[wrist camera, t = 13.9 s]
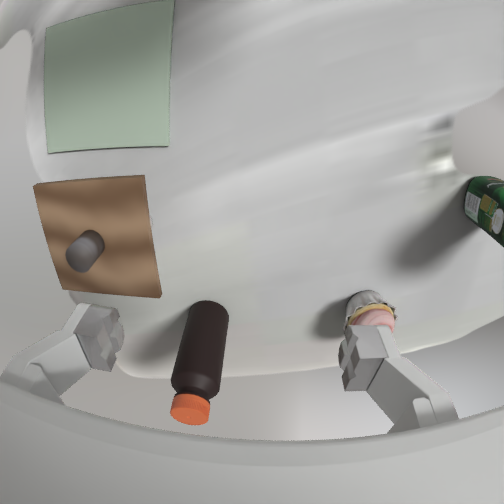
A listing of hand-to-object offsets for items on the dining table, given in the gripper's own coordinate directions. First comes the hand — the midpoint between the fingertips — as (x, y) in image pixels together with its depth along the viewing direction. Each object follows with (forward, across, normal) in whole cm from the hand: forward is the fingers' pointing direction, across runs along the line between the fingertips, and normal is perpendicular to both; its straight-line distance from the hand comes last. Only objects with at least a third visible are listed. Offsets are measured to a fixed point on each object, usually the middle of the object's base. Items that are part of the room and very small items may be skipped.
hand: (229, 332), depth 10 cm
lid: (+23, +19, +10) cm, 32 cm away
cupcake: (+31, -20, +24) cm, 44 cm away
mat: (+31, +21, -10) cm, 39 cm away
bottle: (+31, +6, +28) cm, 42 cm away
